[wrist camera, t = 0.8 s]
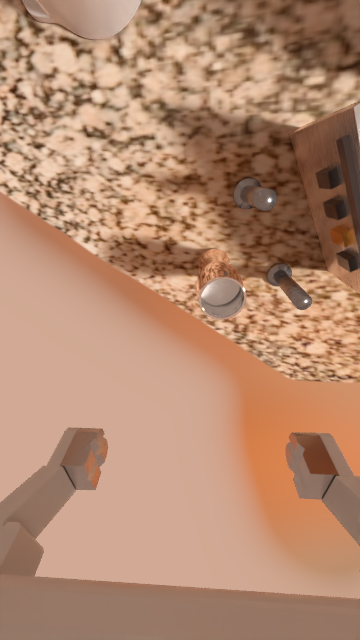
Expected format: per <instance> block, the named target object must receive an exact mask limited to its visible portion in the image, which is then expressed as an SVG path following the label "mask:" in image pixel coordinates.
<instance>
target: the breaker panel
mask: <svg viewBox="0 0 360 640" xmlns="http://www.w3.org/2000/svg"><path fill="white" fill-rule="evenodd" d="M289 136H290V139H291V143H292V146H293V150H294V153H295V157H296V161H297V164H298V168H299V171H300V175H301V178H302V182H303V185H304V189H305V193H306V196H307V200H308V203H309V207H310V210H311V214H312V217H313V221H314V225H315V228H316V232H317V235H318V239H319V242H320V246H321V250H322V253H323V257H324V260H325V264H326V267H327V271H328V272H329V273H331V274H332V275H334V276H335V277H337V278H338V279H339V280H341V281H342V282H344V283H345V284H346V285H348V286H349V287H351V288H352V289H354V290H355V291H356V292H358V293H359V294H360V101H358V102H356V103H354V104H351V105H349V106H347V107H345V108H342V109H340V110H338V111H336V112H333V113H331V114H329V115H327V116H325V117H322V118H320V119H318V120H316V121H313V122H311V123H309V124H307V125H304V126H302V127H300V128H299V129H297V130H296V131H294V132H292V133H291V134H289Z"/></svg>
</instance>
